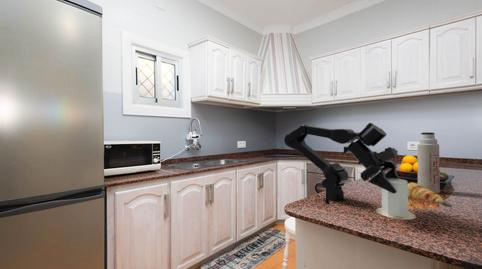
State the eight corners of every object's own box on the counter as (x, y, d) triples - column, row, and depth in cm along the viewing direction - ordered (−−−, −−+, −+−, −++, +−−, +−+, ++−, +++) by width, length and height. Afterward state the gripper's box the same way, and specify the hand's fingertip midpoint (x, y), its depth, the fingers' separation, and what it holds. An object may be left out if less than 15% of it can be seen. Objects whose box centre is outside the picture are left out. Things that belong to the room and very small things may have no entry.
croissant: (449, 214, 86) (455, 195, 87) (433, 204, 83) (440, 185, 84) (395, 198, 106) (401, 182, 107) (381, 189, 103) (387, 174, 104)
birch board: (381, 221, 71) (381, 217, 71) (372, 209, 81) (372, 206, 81) (422, 224, 67) (422, 220, 67) (407, 212, 78) (407, 209, 78)
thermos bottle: (444, 193, 101) (443, 132, 101) (424, 193, 102) (423, 132, 102) (432, 189, 109) (431, 132, 109) (414, 188, 110) (413, 132, 110)
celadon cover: (380, 213, 74) (380, 180, 74) (384, 207, 79) (383, 177, 79) (406, 218, 69) (406, 183, 69) (408, 212, 75) (408, 179, 75)
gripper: (370, 140, 71) (412, 180, 63) (390, 139, 83) (428, 172, 75) (346, 162, 78) (381, 201, 69) (368, 158, 89) (400, 190, 81)
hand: (399, 190), depth 73 cm, fingers open, 8 cm apart
